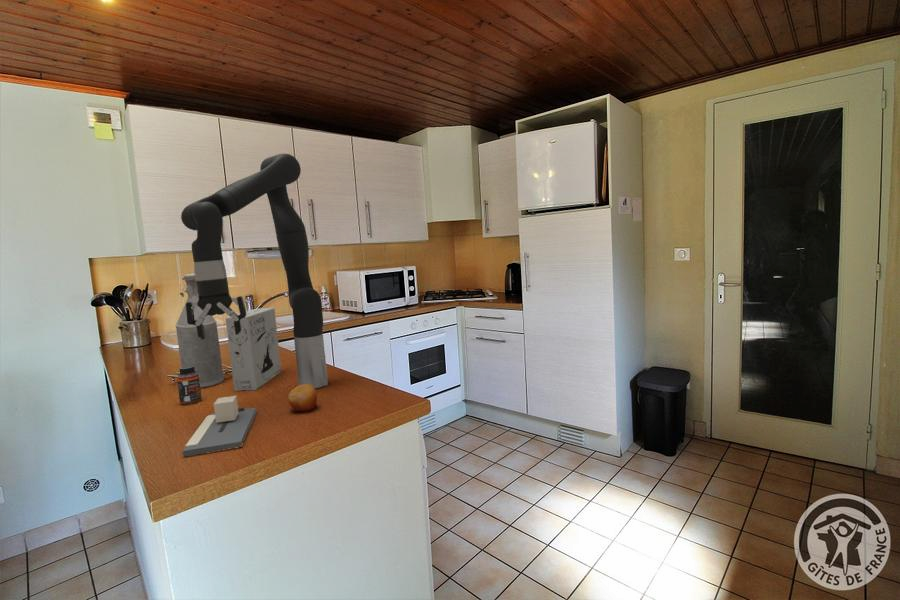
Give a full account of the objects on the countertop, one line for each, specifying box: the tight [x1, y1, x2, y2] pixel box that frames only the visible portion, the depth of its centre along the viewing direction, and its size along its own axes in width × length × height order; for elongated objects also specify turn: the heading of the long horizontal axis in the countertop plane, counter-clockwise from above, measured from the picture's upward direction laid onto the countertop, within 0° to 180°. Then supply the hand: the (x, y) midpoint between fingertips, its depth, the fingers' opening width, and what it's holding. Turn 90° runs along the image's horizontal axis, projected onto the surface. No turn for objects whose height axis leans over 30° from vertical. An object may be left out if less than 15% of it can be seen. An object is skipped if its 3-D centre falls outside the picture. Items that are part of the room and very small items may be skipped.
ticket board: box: [182, 406, 258, 458], centre depth 112 cm, size 12×24×2 cm, turn 16°
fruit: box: [287, 384, 318, 412], centre depth 126 cm, size 8×8×8 cm
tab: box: [213, 395, 239, 423], centre depth 116 cm, size 4×5×5 cm
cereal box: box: [225, 307, 282, 392], centre depth 156 cm, size 22×8×25 cm, turn 179°
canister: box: [175, 273, 225, 389], centre depth 158 cm, size 13×17×40 cm
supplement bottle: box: [176, 366, 202, 405], centre depth 138 cm, size 6×6×11 cm
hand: (220, 336), depth 121 cm, fingers open, 8 cm apart
